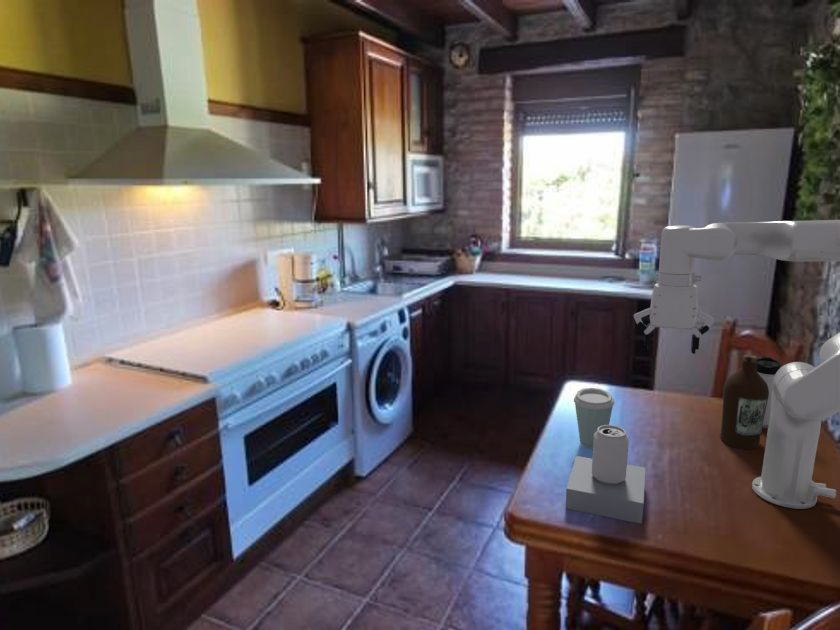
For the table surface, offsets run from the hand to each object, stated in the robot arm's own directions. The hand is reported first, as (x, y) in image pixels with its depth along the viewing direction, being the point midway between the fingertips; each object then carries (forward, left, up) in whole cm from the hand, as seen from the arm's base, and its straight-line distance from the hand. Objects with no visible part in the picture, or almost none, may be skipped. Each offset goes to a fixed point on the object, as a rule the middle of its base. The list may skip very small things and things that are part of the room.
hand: (670, 350), depth 131 cm
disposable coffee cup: (+17, -9, -32) cm, 38 cm away
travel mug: (-28, -40, -32) cm, 58 cm away
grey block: (+11, +17, -32) cm, 38 cm away
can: (+11, +17, -27) cm, 34 cm away
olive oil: (-21, -25, -32) cm, 46 cm away
